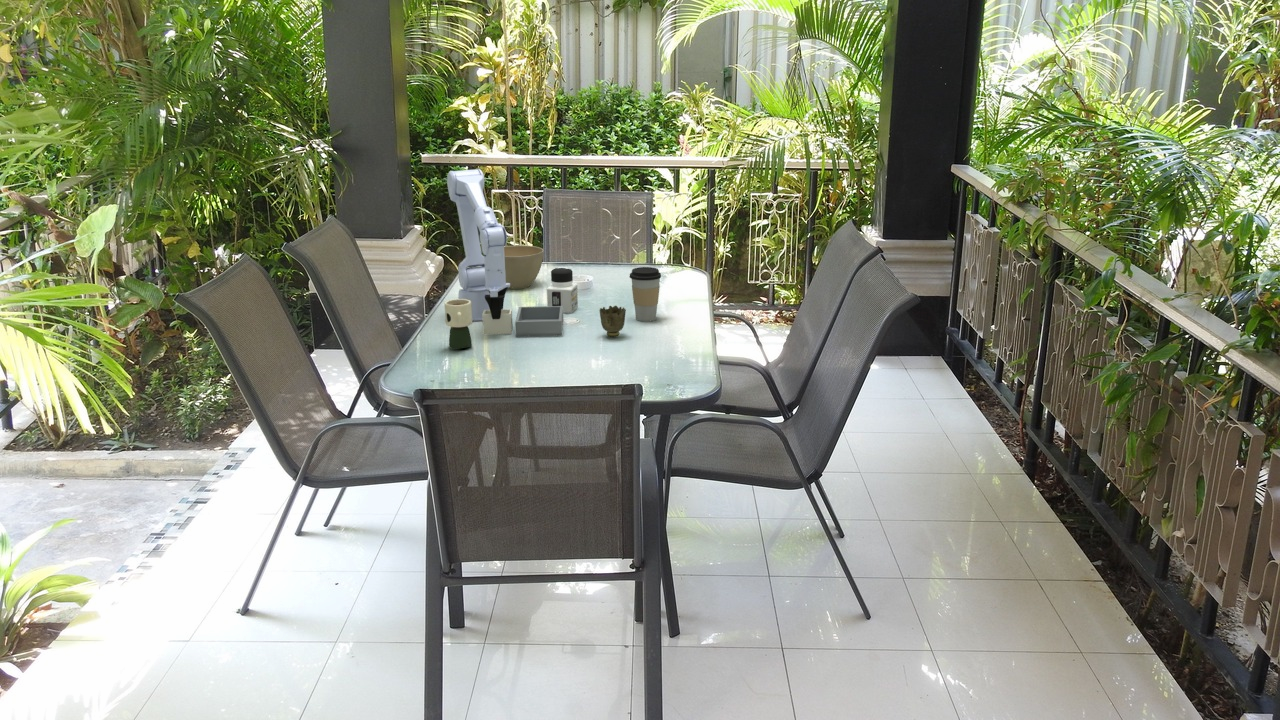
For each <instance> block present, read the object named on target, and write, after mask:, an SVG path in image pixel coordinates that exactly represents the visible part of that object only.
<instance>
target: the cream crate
mask: <svg viewBox="0 0 1280 720" xmlns="http://www.w3.org/2000/svg"><path fill="white" fill-rule="evenodd" d="M482 318H483V321H482V332H483V335H484V336H485V335H488V336H489V335H512V333H513V328H514V326H513V323H514V322H513V309H512V308H505V309H504V308H503V309H501V317H500V319H492V316H491V312H490V310H484V311H483V314H482Z"/></svg>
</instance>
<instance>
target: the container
mask: <svg viewBox="0 0 1280 720" xmlns="http://www.w3.org/2000/svg"><path fill="white" fill-rule="evenodd" d="M573 274H574V273H573V270H572V269H571V268H570V267H555V268H553V269H552V270H551V271H550V278H551V279H550V281H551V282H550V283H551V284H550V285H549V286H548V287H547V288H546V301H547V303H546V306H563V314H573V312H574V311H576V310H577V309H578V306H579V300H578V299H579V297H578V295H579V294H578V292H579V291H578V283H576V282H574V281H573V280H574V278H573Z"/></svg>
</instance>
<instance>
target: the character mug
mask: <svg viewBox="0 0 1280 720" xmlns="http://www.w3.org/2000/svg"><path fill="white" fill-rule="evenodd" d="M444 317H445V324H446V326H448V327H450V329H449V338H448V346H449V347H448V348H450V349H454V350H459V349H460V350H463V349H464V348H470V347H472V346H473V343H472V336H471V333H470V332H471V331H470V328H469V326H470V325H472V324H473V321H472V310H471V301H470V300H467V299H458V298H454V299H448V300H446V301H444Z"/></svg>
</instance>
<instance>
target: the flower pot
mask: <svg viewBox="0 0 1280 720" xmlns="http://www.w3.org/2000/svg"><path fill="white" fill-rule="evenodd" d="M504 256H505V275H506V283H510V287H508V288H507V289H512V290H513V289H514V290H520V289H526V288H527V289H528V288H529V287H530V286H532V285H533V283H534V282H535V280H536V278H537V277H538V275H539V273H540V271H541V268H542V264H543V260H544V249H543V248H542V247H539V246H533V245H506V246H504Z"/></svg>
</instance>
